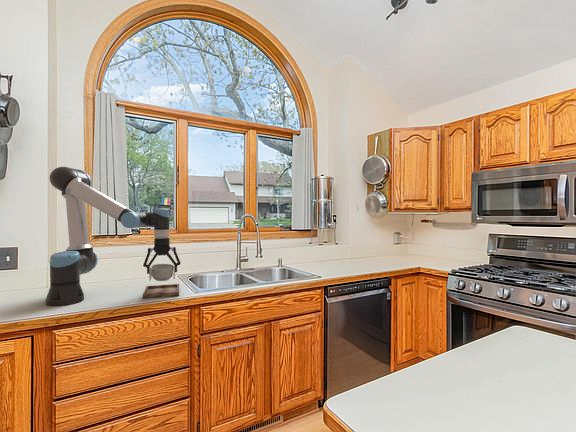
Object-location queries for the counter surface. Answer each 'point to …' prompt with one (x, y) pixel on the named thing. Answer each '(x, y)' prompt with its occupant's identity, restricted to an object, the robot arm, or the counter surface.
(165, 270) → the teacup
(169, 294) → the brown wooden tray
